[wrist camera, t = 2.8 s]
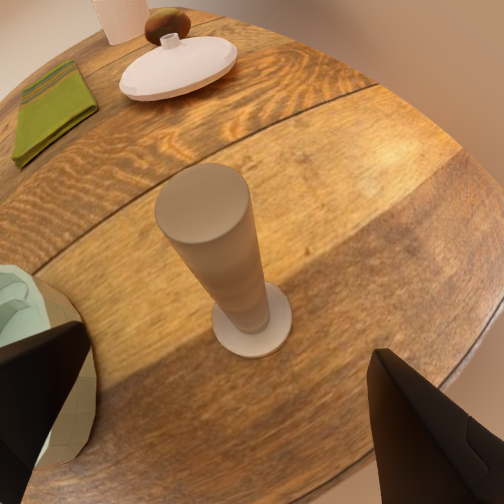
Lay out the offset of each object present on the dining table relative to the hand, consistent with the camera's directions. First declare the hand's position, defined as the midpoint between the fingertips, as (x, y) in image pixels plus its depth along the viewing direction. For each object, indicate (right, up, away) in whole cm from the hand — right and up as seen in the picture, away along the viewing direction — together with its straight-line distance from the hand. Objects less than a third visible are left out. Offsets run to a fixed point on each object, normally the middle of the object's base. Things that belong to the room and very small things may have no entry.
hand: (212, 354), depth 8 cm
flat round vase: (-8, +26, +24) cm, 36 cm away
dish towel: (-36, +31, +30) cm, 56 cm away
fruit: (-13, +40, +32) cm, 53 cm away
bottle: (-28, +55, +41) cm, 74 cm away
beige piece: (+1, -2, +10) cm, 10 cm away
